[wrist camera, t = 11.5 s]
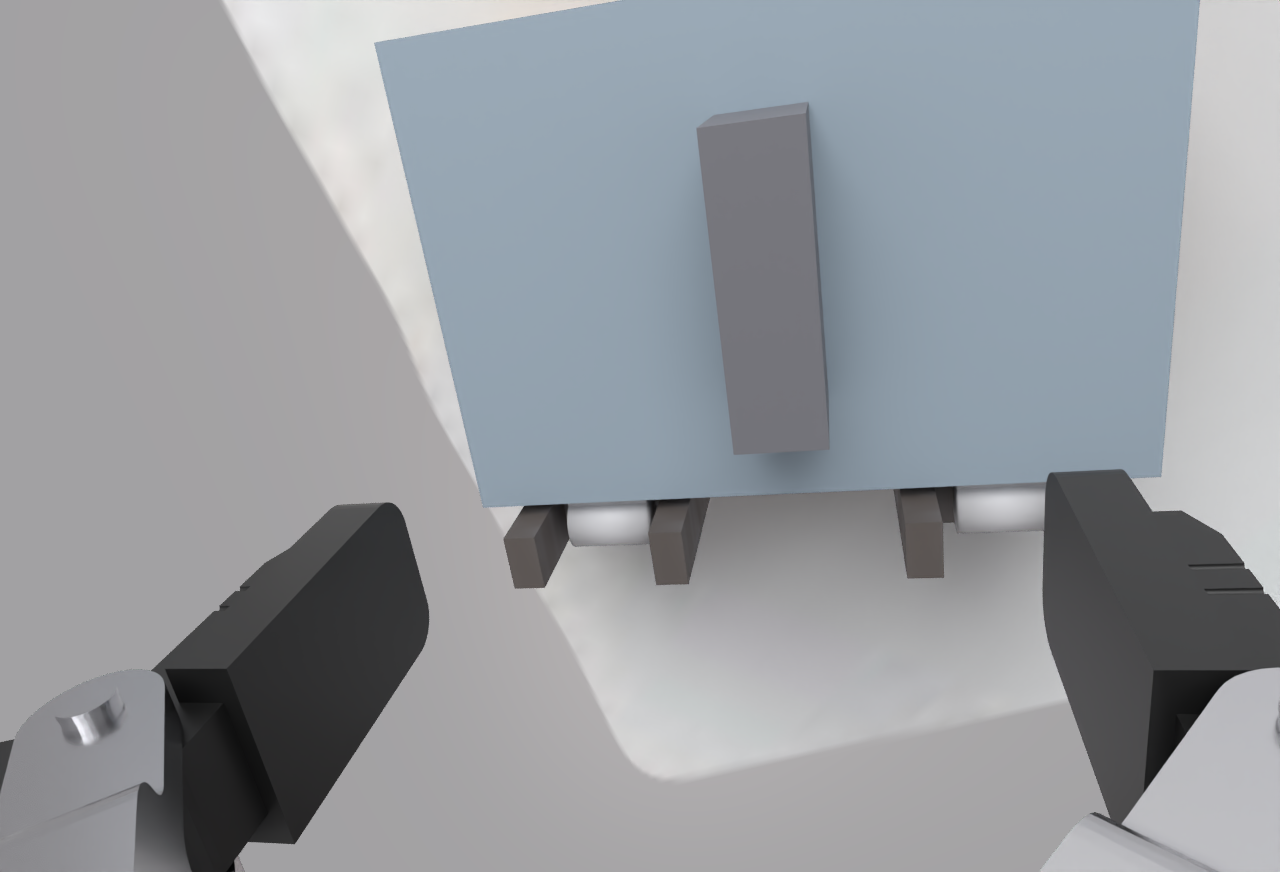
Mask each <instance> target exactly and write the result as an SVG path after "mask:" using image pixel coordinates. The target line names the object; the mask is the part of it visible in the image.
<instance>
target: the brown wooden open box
mask: <svg viewBox="0 0 1280 872" xmlns="http://www.w3.org/2000/svg"><path fill="white" fill-rule="evenodd" d="M894 494H895V500H896V507H897V513H898V520H899V527H900V533H901V540H902V546H903V553H904V559H905V566H906V572H907V578H944V563H943V523H949V522H955V520H954V512H953V486H947V487H925V488H903V489H894ZM709 499H710V497H705V498H683V499H661V500H654V502H655V508H656V512H655V515H654V518H653V521H652V524H651V527H650V529H649V532H648V536H649V542H650V548H651V555H652V561H653V567H654V573H655V579H656V585H670V584H689V580H690V576H691V572H692V568H693V564H694V560H695V556H696V552H697V548H698V544H699V539H700V535H701V531H702V527H703V523H704V519H705V515H706V511H707V507H708V503H709ZM567 513H568V504H550V505H528V506H524V507H523V509H522V510H521V512H520V514H519V515H518V517H517V518H516V520H515V521H514V523H513V525H512V526H511V528H510V529H509V531H508V533H507V534H506V536H505V537H504V544H505V548H506V552H507V556H508V561H509V565H510V570H511V574H512V578H513V583H514V587H515V588H545V586H546V584H547V582H548V580H549V578H550V576H551V574H552V572H553V570H554V568H555V566H556V564H557V562H558V560H559V558H560V556H561V554H562V552H563V550H564V548H565V546H566V544H567V542H568V540H569V534H568V527H567Z"/></svg>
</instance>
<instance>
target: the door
mask: <svg viewBox="0 0 1280 872" xmlns="http://www.w3.org/2000/svg"><path fill="white" fill-rule="evenodd" d="M1199 5H1200V0H620V1H614V2H608V3H603V4H597V5H591V6H585V7H579V8H574V9H568V10H562V11H556V12H550V13H544V14H539V15H533V16H527V17H521V18H515V19H510V20H504V21H498V22H492V23H486V24H481V25H475V26H469V27H463V28H457V29H451V30H446V31H440V32H434V33H428V34H422V35H417V36H411V37H405V38H399V39H393V40H388V41H382V42H376V43H374V44H375V48H376V52H377V56H378V61H379V65H380V69H381V74H382V78H383V82H384V86H385V91H386V95H387V99H388V103H389V108H390V112H391V116H392V120H393V125H394V129H395V133H396V138H397V142H398V146H399V150H400V155H401V159H402V163H403V167H404V172H405V176H406V180H407V184H408V189H409V193H410V197H411V202H412V206H413V210H414V214H415V219H416V223H417V227H418V231H419V236H420V240H421V244H422V248H423V253H424V257H425V261H426V265H427V270H428V274H429V278H430V283H431V287H432V291H433V295H434V300H435V304H436V308H437V312H438V317H439V321H440V325H441V329H442V334H443V338H444V342H445V347H446V351H447V355H448V359H449V364H450V368H451V372H452V376H453V381H454V385H455V389H456V393H457V398H458V402H459V406H460V411H461V415H462V419H463V423H464V428H465V432H466V436H467V440H468V445H469V449H470V453H471V457H472V462H473V466H474V470H475V475H476V479H477V483H478V487H479V492H480V496H481V500H482V504H483V507H506V506H528V505H550V504H568V513H567V527H568V534H569V538H570V541H571V543H572V545H573V546H575V547H577V546H606V545H635V544H650V542H649V536H648V532H649V529H650V527H651V524H652V521H653V518H654V515H655V512H656V508H655V502H654V500H661V499H683V498H705V497H727V496H749V495H771V494H793V493H815V492H837V491H859V490H881V489H903V488H925V487H947V486H953V512H954V520H955V527H956V531H957V533H985V532H1015V531H1044V516H1045V489H1046V482H1047V478H1048V475H1049V473H1051V472H1070V471H1091V470H1112V469H1123V470H1124V471H1125V472H1126V473H1127V474H1128V476H1129V477H1130V478H1146V477H1161V473H1162V460H1163V448H1164V436H1165V423H1166V411H1167V399H1168V386H1169V374H1170V362H1171V349H1172V337H1173V325H1174V312H1175V300H1176V288H1177V276H1178V263H1179V251H1180V239H1181V226H1182V214H1183V202H1184V189H1185V177H1186V165H1187V152H1188V140H1189V128H1190V115H1191V103H1192V91H1193V79H1194V66H1195V54H1196V42H1197V29H1198V17H1199Z"/></svg>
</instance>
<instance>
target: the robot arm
mask: <svg viewBox="0 0 1280 872" xmlns="http://www.w3.org/2000/svg"><path fill="white" fill-rule="evenodd" d="M1043 611H1044V620H1045V627H1046V633H1047V638H1048V642H1049V646H1050V649H1051V652H1052V655H1053V658H1054V660H1055V663H1056V666H1057V669H1058V672H1059V675H1060V677H1061V680H1062V683H1063V686H1064V689H1065V691H1066V694H1067V697H1068V700H1069V703H1070V705H1071V708H1072V711H1073V714H1074V717H1075V719H1076V722H1077V725H1078V728H1079V731H1080V733H1081V736H1082V739H1083V742H1084V745H1085V748H1086V750H1087V753H1088V756H1089V759H1090V762H1091V765H1092V767H1093V770H1094V773H1095V776H1096V779H1097V781H1098V784H1099V787H1100V790H1101V793H1102V796H1103V798H1104V801H1105V804H1106V807H1107V810H1108V812H1109V815H1110V818H1111V819H1110V818H1108V817H1105V816H1103V815H1101V814H1099V813H1096V812H1094V813H1090V814H1088V815H1086V816H1085V817H1083V818H1082V819H1081V820H1080V821H1079V822H1078V823H1077V824H1076V825H1075V826H1074V827H1073V828H1072V830H1071V831H1070V832H1069V833H1068V834H1067V836H1066V837H1065V838H1064V840H1063V841H1062V842H1061V844H1060V845H1059V846H1058V847H1057V849H1056V850H1055V851H1054V853H1053V854H1052V855H1051V857H1050V858H1049V859H1048V860H1047V862H1046V863H1045V864H1044V866H1043V867H1042V868H1041V870H1040V871H1039V872H1280V609H1279V607H1278V606H1277V605H1276V603H1275V602H1274V601H1273V600H1272V598H1271V597H1270V596H1269V594H1264V592H1263V587H1262V585H1261V584H1260V583H1259V581H1258V580H1257V579H1256V578H1255V576H1254V575H1253V574H1252V572H1251V571H1250V570H1249V569H1245V567H1244V562H1243V561H1242V560H1241V558H1240V557H1239V556H1238V554H1237V553H1236V552H1235V551H1234V549H1233V548H1232V547H1231V545H1230V544H1229V543H1228V541H1227V540H1226V539H1225V538H1224V536H1223V535H1222V534H1221V533H1219V532H1217V531H1215V530H1214V529H1212V528H1210V527H1208V526H1207V525H1205V524H1203V523H1202V522H1200V521H1198V520H1196V519H1195V518H1193V517H1191V516H1190V515H1188V514H1186V513H1184V512H1183V511H1159V512H1152V510H1151V509H1150V507H1149V506H1148V504H1147V503H1146V501H1145V500H1144V498H1143V497H1142V495H1141V494H1140V492H1139V491H1138V489H1137V488H1136V486H1135V485H1134V483H1133V482H1132V480H1131V479H1130V477H1129V476H1128V474H1127V473H1126V472H1125V471H1124V470H1123V469H1112V470H1091V471H1070V472H1051V473H1049V475H1048V478H1047V482H1046V489H1045V516H1044V555H1043ZM428 627H429V609H428V603H427V599H426V595H425V592H424V588H423V584H422V581H421V577H420V574H419V570H418V566H417V563H416V559H415V556H414V552H413V549H412V545H411V541H410V538H409V534H408V531H407V527H406V523H405V520H404V517H403V515H402V513H401V511H400V510H399V508H398V507H397V506H396V505H394V504H393V503H370V504H347V505H337V506H334V507H333V508H331V509H330V510H329V511H328V512H327V513H326V514H325V515H324V516H323V517H322V518H321V519H320V520H319V521H318V522H317V523H316V524H315V525H314V526H312V528H310V529H309V530H308V531H307V532H306V533H305V534H304V535H303V536H302V537H301V538H300V539H299V540H298V541H297V542H296V543H295V544H294V545H293V546H292V547H291V548H290V549H288V550H286V551H284V552H283V553H281V554H279V555H278V556H276V557H274V558H273V559H271V560H269V561H268V562H266V563H264V565H262V566H261V567H260V568H259V569H258V570H257V571H256V572H255V573H254V574H253V575H252V576H251V577H250V578H249V579H248V580H247V581H245V582H244V583H243V584H242V585H241V586H240V591H235V592H234V593H233V594H232V595H231V596H230V597H229V598H227V600H225V601H224V602H223V603H222V604H221V605H220V610H219V611H214V612H213V613H212V614H211V615H210V616H209V617H207V618H206V619H205V620H204V621H203V622H202V623H201V624H200V625H199V626H198V627H197V628H196V629H195V630H194V631H193V632H192V633H190V635H188V636H187V637H186V638H185V639H184V640H183V641H182V642H181V643H180V644H179V645H178V646H177V647H176V648H175V649H174V650H173V651H172V652H170V653H169V655H167V656H166V657H165V658H164V659H163V660H162V661H161V662H160V663H159V664H158V665H157V666H156V667H155V668H154V669H152V670H151V671H150V670H142V669H133V670H125V671H118V672H114V673H110V674H106V675H103V676H100V677H97V678H94V679H91V680H89V681H86V682H84V683H81V684H79V685H77V686H75V687H73V688H71V689H69V690H67V691H65V692H63V693H62V694H60V695H58V696H57V697H55V698H53V699H52V700H50V701H49V702H47V703H46V704H45V705H43V706H42V707H41V708H39V709H38V710H37V711H36V712H35V713H34V714H33V715H31V716H30V717H29V718H28V719H27V720H26V722H25V723H24V724H23V725H22V726H21V728H20V729H19V731H18V732H17V734H16V736H15V739H14V740H9V741H5V742H0V872H245V871H244V868H243V866H242V864H241V861H240V859H239V857H238V855H239V853H240V852H241V850H242V849H243V848H244V846H245V845H246V844H247V842H264V843H283V844H295V843H296V842H297V840H298V839H299V837H300V835H301V834H302V832H303V831H304V829H305V828H306V826H307V825H308V823H309V822H310V820H311V819H312V817H313V816H314V814H315V813H316V811H317V809H318V808H319V806H320V805H321V803H322V802H323V800H324V799H325V797H326V796H327V794H328V793H329V791H330V790H331V788H332V787H333V785H334V784H335V782H336V781H337V779H338V778H339V776H340V775H341V773H342V771H343V770H344V768H345V767H346V765H347V764H348V762H349V761H350V759H351V758H352V756H353V755H354V753H355V752H356V750H357V749H358V747H359V745H360V744H361V742H362V741H363V739H364V738H365V736H366V735H367V733H368V732H369V730H370V729H371V727H372V726H373V724H374V723H375V721H376V720H377V718H378V717H379V715H380V714H381V712H382V710H383V709H384V707H385V706H386V704H387V703H388V701H389V700H390V698H391V697H392V695H393V694H394V692H395V691H396V689H397V688H398V686H399V684H400V683H401V681H402V680H403V678H404V677H405V675H406V674H407V672H408V671H409V669H410V668H411V666H412V665H413V663H414V662H415V660H416V659H417V657H418V655H419V654H420V652H421V651H422V649H423V647H424V645H425V642H426V638H427V634H428Z"/></svg>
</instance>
